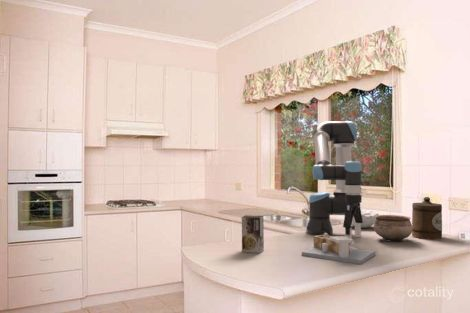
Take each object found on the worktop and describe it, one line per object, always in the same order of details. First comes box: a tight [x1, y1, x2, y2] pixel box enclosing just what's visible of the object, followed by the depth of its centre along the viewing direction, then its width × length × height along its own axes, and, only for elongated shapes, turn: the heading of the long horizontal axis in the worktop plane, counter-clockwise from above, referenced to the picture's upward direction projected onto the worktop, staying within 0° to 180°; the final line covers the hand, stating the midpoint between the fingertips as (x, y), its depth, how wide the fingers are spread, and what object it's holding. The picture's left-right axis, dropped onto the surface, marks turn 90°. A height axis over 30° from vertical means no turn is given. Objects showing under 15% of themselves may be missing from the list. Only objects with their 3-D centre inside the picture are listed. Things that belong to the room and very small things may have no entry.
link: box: [313, 235, 351, 254], centre depth 175 cm, size 18×7×5 cm, turn 23°
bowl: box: [351, 209, 380, 229], centre depth 244 cm, size 21×20×10 cm
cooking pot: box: [373, 214, 413, 243], centre depth 204 cm, size 25×19×12 cm
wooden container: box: [411, 196, 443, 240], centre depth 214 cm, size 15×15×22 cm
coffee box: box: [241, 214, 265, 254], centre depth 179 cm, size 9×6×16 cm
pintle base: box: [301, 233, 376, 265], centre depth 171 cm, size 26×21×9 cm
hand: (353, 239), depth 183 cm, fingers open, 13 cm apart
